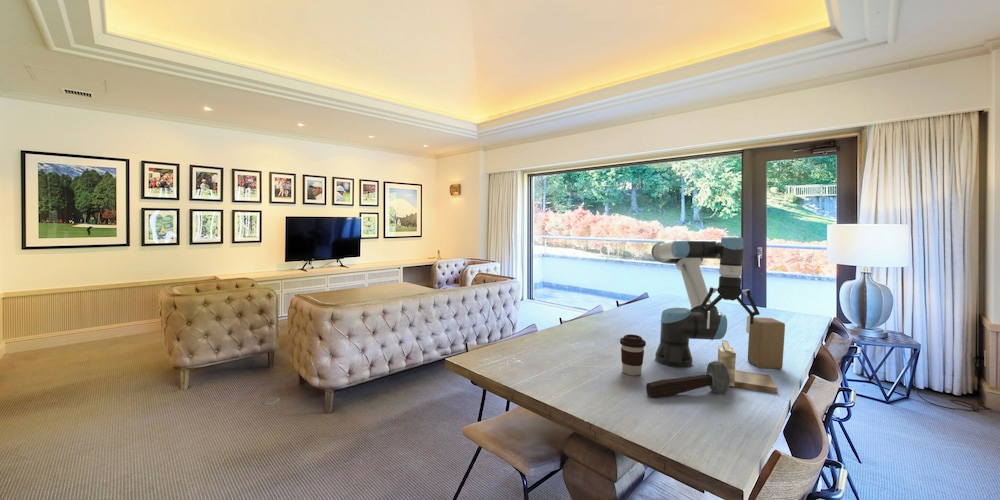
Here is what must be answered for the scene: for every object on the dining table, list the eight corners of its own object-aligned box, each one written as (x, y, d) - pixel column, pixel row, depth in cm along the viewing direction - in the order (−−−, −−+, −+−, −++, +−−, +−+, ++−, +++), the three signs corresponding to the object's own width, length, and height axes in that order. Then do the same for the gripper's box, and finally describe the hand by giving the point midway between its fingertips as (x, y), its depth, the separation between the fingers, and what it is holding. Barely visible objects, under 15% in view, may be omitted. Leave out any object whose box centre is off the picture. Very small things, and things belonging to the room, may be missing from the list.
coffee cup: (648, 372, 165) (649, 336, 163) (638, 379, 157) (639, 341, 156) (625, 366, 171) (626, 331, 170) (614, 372, 164) (615, 336, 163)
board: (714, 383, 154) (714, 378, 154) (712, 371, 167) (712, 366, 167) (776, 393, 146) (776, 387, 146) (769, 379, 159) (769, 374, 158)
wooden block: (770, 361, 180) (772, 317, 178) (783, 369, 170) (786, 323, 168) (746, 360, 181) (748, 316, 179) (758, 368, 171) (761, 322, 169)
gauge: (718, 384, 152) (720, 349, 151) (716, 371, 165) (718, 339, 164) (734, 386, 150) (736, 351, 149) (730, 373, 163) (732, 341, 162)
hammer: (653, 409, 140) (730, 394, 144) (650, 378, 139) (728, 363, 143) (646, 403, 145) (721, 388, 149) (643, 373, 144) (719, 359, 148)
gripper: (694, 275, 158) (692, 328, 159) (770, 279, 147) (767, 336, 149) (694, 273, 165) (692, 324, 166) (766, 277, 154) (763, 331, 155)
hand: (727, 330), depth 157 cm, fingers open, 13 cm apart
